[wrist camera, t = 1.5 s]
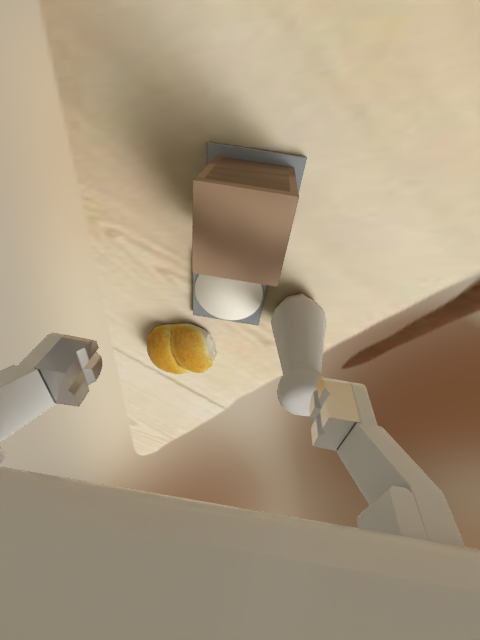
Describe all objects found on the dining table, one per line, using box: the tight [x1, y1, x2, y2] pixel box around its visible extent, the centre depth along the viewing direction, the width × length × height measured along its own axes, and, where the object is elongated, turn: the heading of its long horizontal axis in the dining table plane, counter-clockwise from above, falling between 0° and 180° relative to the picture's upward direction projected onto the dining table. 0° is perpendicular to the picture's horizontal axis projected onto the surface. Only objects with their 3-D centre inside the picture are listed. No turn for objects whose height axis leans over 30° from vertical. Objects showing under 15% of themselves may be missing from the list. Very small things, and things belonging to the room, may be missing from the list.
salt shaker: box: [271, 294, 326, 416], centre depth 27 cm, size 6×6×13 cm
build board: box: [193, 273, 267, 325], centre depth 32 cm, size 8×8×1 cm
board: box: [207, 142, 307, 193], centre depth 23 cm, size 8×8×6 cm
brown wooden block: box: [192, 156, 299, 287], centre depth 22 cm, size 6×6×8 cm
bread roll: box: [147, 323, 216, 374], centre depth 37 cm, size 8×9×4 cm
